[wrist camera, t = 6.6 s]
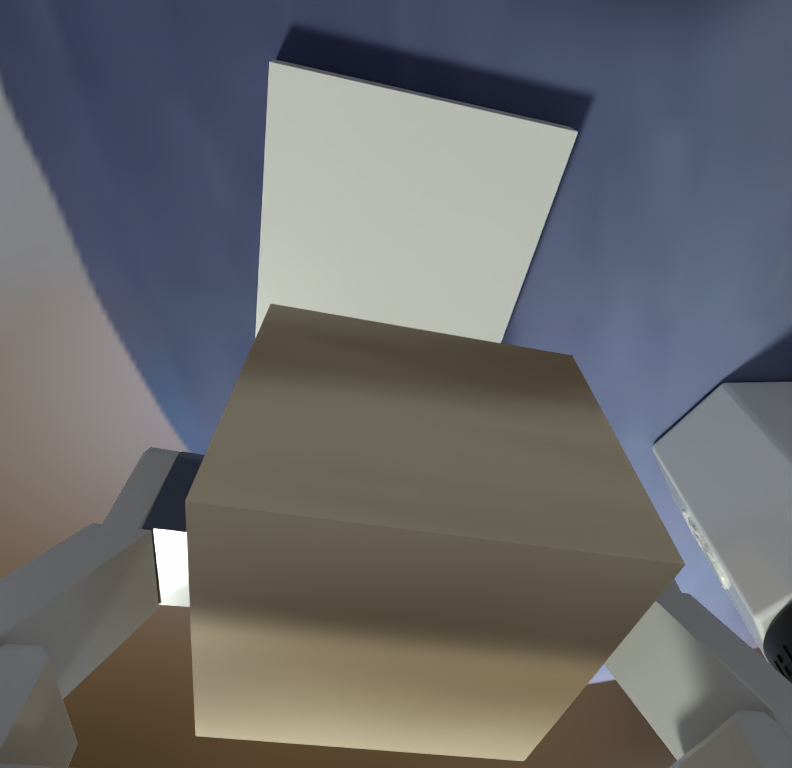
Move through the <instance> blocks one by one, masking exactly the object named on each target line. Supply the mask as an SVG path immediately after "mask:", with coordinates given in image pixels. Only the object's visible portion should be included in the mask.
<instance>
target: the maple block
mask: <svg viewBox="0 0 792 768" xmlns="http://www.w3.org/2000/svg"><path fill="white" fill-rule="evenodd" d="M185 510H186V532H187V554H188V576H189V598H190V621H191V642H192V664H193V685H194V686H193V687H194V708H195V731H196V736H203V737H216V738H229V739H243V740H256V741H268V742H282V743H295V744H308V745H321V746H334V747H347V748H360V749H373V750H387V751H399V752H413V753H425V754H438V755H451V756H464V757H477V758H491V759H503V760H516V761H524V760H525V759H526V758H527V757H528V755H529V754H530V753H531V752H532V751H533V749H534V748H535V747H536V746H537V745H538V743H539V742H540V741H541V740H542V738H543V737H544V736H545V734H546V733H547V732H548V731H549V730H550V729H551V727H552V726H553V725H554V724H555V723H556V721H557V720H558V719H559V718H560V716H561V715H562V714H563V713H564V712H565V710H566V709H567V708H568V707H569V706H570V704H571V703H572V702H573V701H574V699H575V698H576V697H577V696H578V694H579V693H580V692H581V691H582V690H583V689H584V687H585V686H586V685H587V684H588V682H589V681H590V680H591V679H592V678H593V676H594V675H595V674H596V673H597V672H598V670H599V669H600V668H601V667H602V665H603V664H604V663H605V662H606V661H607V659H608V658H609V657H610V656H611V654H612V653H613V652H614V651H615V650H616V648H617V647H618V646H619V645H620V644H621V642H622V641H623V640H624V639H625V637H626V636H627V635H628V634H629V633H630V631H631V630H632V629H633V628H634V626H635V625H636V624H637V623H638V622H639V620H640V619H641V618H642V617H643V616H644V614H645V613H646V612H647V611H648V609H649V608H650V607H651V606H652V605H653V603H654V602H655V601H656V600H657V598H658V597H659V596H660V595H661V594H662V592H663V591H664V590H665V589H666V588H667V586H668V585H669V584H670V583H671V581H672V580H673V579H674V578H675V577H676V575H677V574H678V573H679V572H680V570H681V569H682V568H683V567H684V566H685V563H684V561H683V560H682V558H681V556H680V554H679V552H678V550H677V548H676V547H675V545H674V543H673V541H672V539H671V537H670V535H669V534H668V532H667V530H666V528H665V526H664V524H663V523H662V521H661V519H660V517H659V515H658V513H657V511H656V510H655V508H654V506H653V504H652V502H651V500H650V498H649V497H648V495H647V493H646V491H645V489H644V487H643V486H642V484H641V482H640V480H639V478H638V476H637V474H636V473H635V471H634V469H633V467H632V465H631V463H630V461H629V460H628V458H627V456H626V454H625V452H624V450H623V449H622V447H621V445H620V443H619V441H618V439H617V437H616V436H615V434H614V432H613V430H612V428H611V426H610V425H609V423H608V421H607V419H606V417H605V415H604V413H603V412H602V410H601V408H600V406H599V404H598V402H597V400H596V399H595V397H594V395H593V393H592V391H591V389H590V388H589V386H588V384H587V382H586V380H585V378H584V376H583V375H582V373H581V371H580V369H579V367H578V365H577V363H576V362H575V360H574V358H573V356H571V355H566V354H560V353H554V352H548V351H543V350H537V349H531V348H525V347H519V346H514V345H508V344H502V343H496V342H491V341H485V340H479V339H473V338H467V337H462V336H456V335H450V334H444V333H439V332H433V331H427V330H421V329H415V328H410V327H404V326H398V325H392V324H387V323H381V322H375V321H369V320H363V319H358V318H352V317H346V316H340V315H335V314H329V313H323V312H317V311H312V310H306V309H300V308H294V307H288V306H283V305H277V304H270V306H269V308H268V311H267V313H266V315H265V318H264V320H263V322H262V325H261V327H260V329H259V332H258V334H257V336H256V338H255V341H254V343H253V345H252V348H251V350H250V352H249V355H248V357H247V359H246V362H245V364H244V366H243V368H242V371H241V373H240V375H239V378H238V380H237V382H236V385H235V387H234V389H233V392H232V394H231V396H230V398H229V401H228V403H227V405H226V408H225V410H224V412H223V415H222V417H221V419H220V422H219V424H218V426H217V428H216V431H215V433H214V435H213V438H212V440H211V442H210V445H209V447H208V449H207V452H206V454H205V456H204V459H203V461H202V463H201V465H200V468H199V470H198V472H197V475H196V477H195V479H194V482H193V484H192V486H191V489H190V491H189V493H188V495H187V498H186V500H185Z"/></svg>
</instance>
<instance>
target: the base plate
mask: <svg viewBox="0 0 792 768" xmlns="http://www.w3.org/2000/svg"><path fill="white" fill-rule="evenodd" d="M577 134H578V132H577V131H576V130H574V129H573V128H571V127H569V126H565V125H561V124H556V123H552V122H547V121H543V120H539V119H534V118H530V117H525V116H521V115H517V114H512V113H508V112H504V111H499V110H495V109H490V108H486V107H482V106H477V105H473V104H469V103H464V102H460V101H455V100H451V99H447V98H442V97H438V96H433V95H429V94H425V93H420V92H416V91H412V90H407V89H403V88H398V87H394V86H390V85H385V84H381V83H376V82H372V81H368V80H363V79H359V78H355V77H350V76H346V75H341V74H337V73H333V72H328V71H324V70H320V69H315V68H311V67H306V66H302V65H298V64H293V63H289V62H284V61H280V60H276V59H275V60H273V61H270V62H269V79H268V99H267V119H266V138H265V158H264V178H263V197H262V217H261V237H260V256H259V276H258V296H257V315H256V335H255V338H256V336H257V334H258V332H259V329H260V327H261V325H262V322H263V320H264V318H265V315H266V313H267V311H268V308H269V306H270V304H277V305H283V306H288V307H294V308H300V309H306V310H312V311H317V312H323V313H329V314H335V315H340V316H346V317H352V318H358V319H363V320H369V321H375V322H381V323H387V324H392V325H398V326H404V327H410V328H415V329H421V330H427V331H433V332H439V333H444V334H450V335H456V336H462V337H467V338H473V339H479V340H485V341H491V342H496V343H501V341H502V339H503V336H504V333H505V330H506V328H507V325H508V322H509V319H510V317H511V314H512V311H513V309H514V306H515V303H516V300H517V298H518V295H519V292H520V289H521V287H522V284H523V281H524V278H525V276H526V273H527V270H528V268H529V265H530V262H531V259H532V257H533V254H534V251H535V248H536V246H537V243H538V240H539V238H540V235H541V232H542V229H543V227H544V224H545V221H546V218H547V216H548V213H549V210H550V207H551V205H552V202H553V199H554V197H555V194H556V191H557V188H558V186H559V183H560V180H561V177H562V175H563V172H564V169H565V167H566V164H567V161H568V158H569V156H570V153H571V150H572V147H573V145H574V142H575V139H576V136H577Z"/></svg>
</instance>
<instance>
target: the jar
mask: <svg viewBox="0 0 792 768" xmlns="http://www.w3.org/2000/svg"><path fill="white" fill-rule="evenodd" d="M652 450H653V452H654V455H655V457H656V459H657V462H658V464H659V467H660V469H661V471H662V474H663V476H664V478H665V481H666V483H667V485H668V488H669V490H670V492H671V495H672V497H673V499H674V501H675V503H676V505H677V506H678V508H679V510H680V511H681V513H682V515H683V517H684V518H685V520H686V522H687V524H688V526H689V528H690V530H691V532H692V534H693V535H694V537H695V539H696V540H697V542H698V544H699V546H700V548H701V550H702V552H703V554H704V556H705V558H706V560H707V561H708V563H709V565H710V567H711V569H712V571H713V572H714V574H715V576H716V578H717V579H718V581H719V583H720V584H721V586H722V587H723V588H725V589H726V591H727V593H728V594H729V596H730V598H731V599H732V601H733V603H734V605H735V606H736V608H737V610H738V611H739V613H740V615H741V617H742V618H743V620H744V622H745V624H746V625H747V627H748V629H749V630H750V632H751V634H752V636H753V637H754V639H755V641H756V643H757V644H758V646H759V648H760V649H761V651H762V653H763V654H764V656H765V658H766V660H767V662H768V663H769V664H770V665H771V666H772V667H774V668H775V669H776V670H777V671H778V672H779V673H780V674H782V675H783V676H784V677H785V678H786V679H787V680H788V681H790V682H791V683H792V382H739V383H722V384H721V385H719V386H718V387H717V388H716V389H715V390H714V391H713V392H712V393H711V394H709V395H708V396H707V397H706V398H705V399H704V400H703V401H702V402H700V403H699V404H698V405H697V406H696V407H695V408H694V409H693V410H692V411H690V412H689V413H688V414H687V415H686V416H685V417H684V418H683V419H682V420H680V421H679V422H678V423H677V424H676V425H675V426H674V427H673V428H672V429H670V430H669V431H668V432H667V433H666V434H665V435H664V436H663V437H661V438H660V439H659V440H658V441H657V442H656V443H655V444H654V445H653V447H652Z"/></svg>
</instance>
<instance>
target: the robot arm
mask: <svg viewBox="0 0 792 768" xmlns="http://www.w3.org/2000/svg"><path fill="white" fill-rule="evenodd" d="M204 456H205V455H200V454H194V453H188V452H177V451H171V450H165V449H159V448H152V447H150V448H149V449H148V450H147V451H146V452H145V453H143V455H142V456H141V458H140V460H139V462H138V463H137V465H136V467H135V469H134V470H133V472H132V474H131V476H130V477H129V479H128V481H127V482H126V484H125V486H124V488H123V489H122V491H121V493H120V494H119V496H118V498H117V500H116V501H115V503H114V505H113V507H112V508H111V510H110V512H109V513H108V515H107V517H106V519H105V520H104V522H103V524H96V523H92V524H90V525H88V526H87V527H85V528H84V529H82V530H80V531H78V532H77V533H75V534H74V535H72V536H70V537H69V538H67V539H65V540H64V541H62V542H60V543H59V544H57V545H55V546H54V547H52V548H50V549H49V550H47V551H45V552H44V553H42V554H40V555H39V556H37V557H36V558H34V559H32V560H31V561H29V562H27V563H26V564H24V565H22V566H21V567H19V568H17V569H16V570H14V571H13V572H11V573H9V574H7V575H6V576H4V577H3V578H1V579H0V768H68V765H69V763H70V760H71V758H72V756H73V753H74V751H75V748H76V746H77V741H76V739H75V735H74V732H73V729H72V726H71V723H70V720H69V717H68V714H67V712H66V708H65V705H64V702H63V698H65V697H66V696H67V695H68V694H69V693H70V692H71V691H72V690H73V689H74V688H75V687H76V686H77V685H78V684H79V683H80V682H81V681H82V680H84V679H85V678H86V677H87V676H88V675H89V674H90V673H91V672H92V671H93V670H94V669H95V668H96V667H97V666H98V665H99V664H100V663H101V662H103V661H104V660H105V659H106V658H107V657H108V656H109V655H110V654H111V653H112V652H113V651H114V650H115V649H116V648H117V647H118V646H119V645H120V644H121V643H122V642H124V641H125V640H126V639H127V638H128V637H129V636H130V635H131V634H132V633H133V632H134V631H135V630H136V629H137V628H138V627H139V626H140V625H142V623H144V622H145V621H146V620H147V619H148V618H149V617H150V616H151V615H152V614H153V613H154V612H155V611H156V610H157V609H158V608H159V604H160V605H173V606H187V607H190V598H189V576H188V554H187V532H186V510H185V500H186V498H187V495H188V493H189V491H190V489H191V486H192V484H193V482H194V479H195V477H196V475H197V472H198V470H199V468H200V465H201V463H202V461H203V459H204ZM604 664H605V666H606V667H607V668H608V670H609V671H610V672H611V674H612V675H613V676H614V678H615V679H616V680H617V682H618V683H619V684H620V686H621V687H622V688H623V689H624V691H625V692H626V693H627V695H628V696H629V697H630V699H631V700H632V701H633V703H634V704H635V705H636V707H637V708H638V709H639V711H640V712H641V713H642V714H643V716H644V717H645V718H646V720H647V721H648V722H649V724H650V725H651V726H652V728H653V729H654V730H655V732H656V733H657V734H658V736H659V737H660V738H661V739H662V741H663V742H664V743H665V745H666V746H667V747H668V749H669V750H670V751H671V752H672V754H673V755H674V757H675V758H676V759H677V761H676V762H675V763H674V764H673V765H672V766H670V767H669V768H792V683H791V682H790V681H788V680H787V679H786V678H785V677H784V676H783V675H782V674H780V673H779V672H778V671H777V670H776V669H775V668H774V667H772V666H771V665H770V664H769V663H768V662H767V661H765V660H764V659H763V658H762V657H761V656H760V655H759V654H757V653H756V652H755V651H754V650H753V649H752V648H751V647H750V646H748V645H747V644H746V643H745V642H744V641H743V640H742V639H740V638H739V637H738V636H737V635H736V634H735V633H734V632H732V631H731V630H730V629H729V628H728V627H727V626H726V625H724V624H723V623H722V622H721V621H720V620H719V619H718V618H716V617H715V616H714V615H713V614H712V613H711V612H710V611H708V610H707V609H706V608H705V607H704V606H703V605H702V604H700V603H699V602H698V601H697V600H696V599H695V598H694V597H692V596H691V595H690V594H686V593H681V591H680V589H679V587H678V585H677V583H676V581H675V579H673V580H672V581H671V583H670V584H669V585H668V586H667V588H666V589H665V590H664V591H663V592H662V594H661V595H660V596H659V597H658V598H657V600H656V601H655V602H654V603H653V605H652V606H651V607H650V608H649V609H648V611H647V612H646V613H645V614H644V616H643V617H642V618H641V619H640V620H639V622H638V623H637V624H636V625H635V626H634V628H633V629H632V630H631V631H630V633H629V634H628V635H627V636H626V637H625V639H624V640H623V641H622V642H621V644H620V645H619V646H618V647H617V648H616V650H615V651H614V652H613V653H612V654H611V656H610V657H609V658H608V659H607V661H606V662H605V663H604Z"/></svg>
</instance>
